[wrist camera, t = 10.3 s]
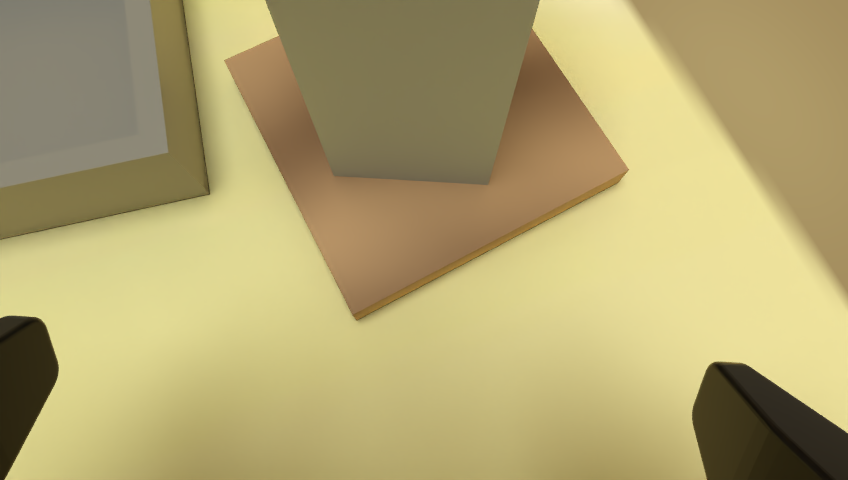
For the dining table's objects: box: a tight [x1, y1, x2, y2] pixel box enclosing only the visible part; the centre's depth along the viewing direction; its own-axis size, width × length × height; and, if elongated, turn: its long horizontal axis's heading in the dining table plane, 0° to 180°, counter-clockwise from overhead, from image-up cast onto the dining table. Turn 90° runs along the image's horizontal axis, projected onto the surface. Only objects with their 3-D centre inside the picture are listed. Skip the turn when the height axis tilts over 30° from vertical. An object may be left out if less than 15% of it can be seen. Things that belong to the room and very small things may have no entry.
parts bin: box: [0, 0, 210, 239], centre depth 18 cm, size 10×10×3 cm
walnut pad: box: [224, 29, 629, 320], centre depth 18 cm, size 9×9×1 cm
